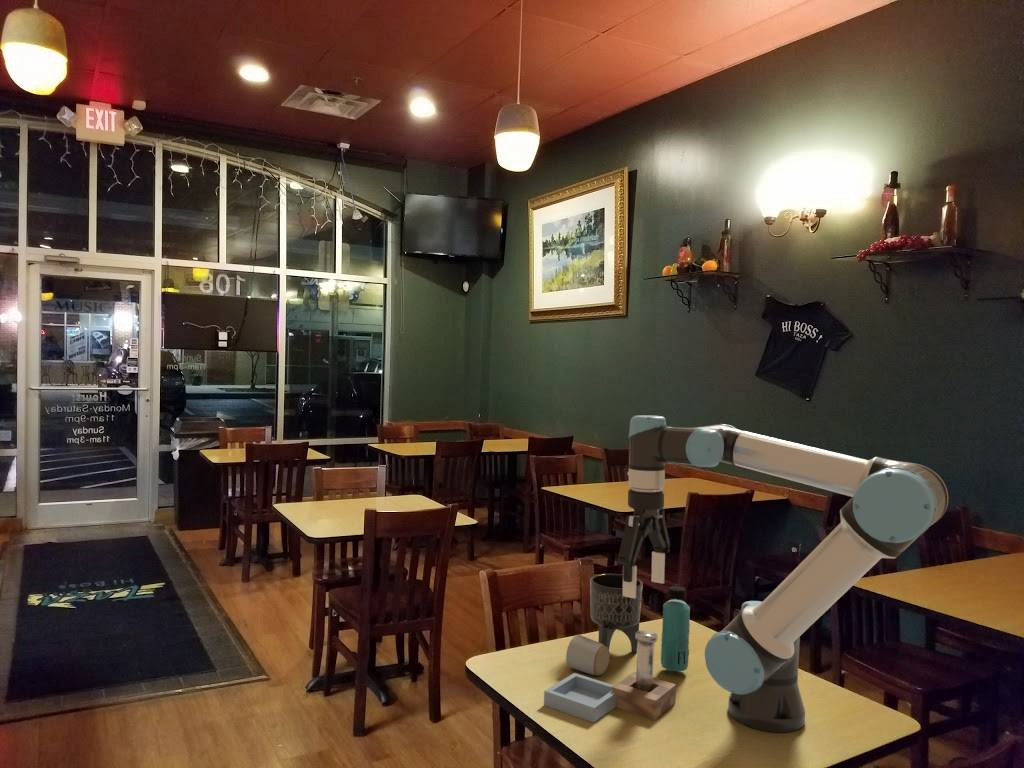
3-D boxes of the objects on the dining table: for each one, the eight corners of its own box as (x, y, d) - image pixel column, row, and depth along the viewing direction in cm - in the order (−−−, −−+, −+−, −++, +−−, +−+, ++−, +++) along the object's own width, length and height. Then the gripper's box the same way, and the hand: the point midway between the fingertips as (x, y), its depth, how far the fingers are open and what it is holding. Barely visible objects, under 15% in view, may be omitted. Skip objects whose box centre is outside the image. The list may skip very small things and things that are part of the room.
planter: (627, 666, 182) (630, 592, 181) (578, 653, 189) (581, 582, 188) (647, 649, 193) (650, 579, 192) (601, 637, 200) (603, 570, 199)
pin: (658, 703, 162) (661, 634, 162) (648, 711, 159) (651, 640, 158) (638, 697, 165) (641, 628, 165) (628, 704, 161) (631, 634, 161)
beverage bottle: (676, 680, 175) (680, 593, 174) (653, 670, 180) (657, 586, 179) (694, 673, 179) (697, 588, 178) (671, 664, 184) (674, 581, 183)
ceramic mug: (595, 681, 173) (597, 647, 172) (564, 671, 177) (566, 638, 177) (617, 667, 181) (619, 635, 181) (587, 658, 186) (588, 627, 186)
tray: (622, 702, 163) (622, 688, 162) (593, 722, 153) (594, 708, 153) (573, 686, 170) (574, 672, 169) (543, 705, 160) (544, 690, 160)
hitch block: (675, 703, 163) (676, 684, 163) (654, 720, 155) (655, 700, 155) (633, 689, 169) (633, 671, 169) (611, 705, 161) (611, 686, 161)
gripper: (655, 480, 173) (653, 573, 174) (601, 494, 153) (599, 599, 153) (686, 484, 169) (684, 579, 169) (635, 498, 149) (633, 607, 149)
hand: (644, 589), depth 161 cm, fingers open, 13 cm apart
